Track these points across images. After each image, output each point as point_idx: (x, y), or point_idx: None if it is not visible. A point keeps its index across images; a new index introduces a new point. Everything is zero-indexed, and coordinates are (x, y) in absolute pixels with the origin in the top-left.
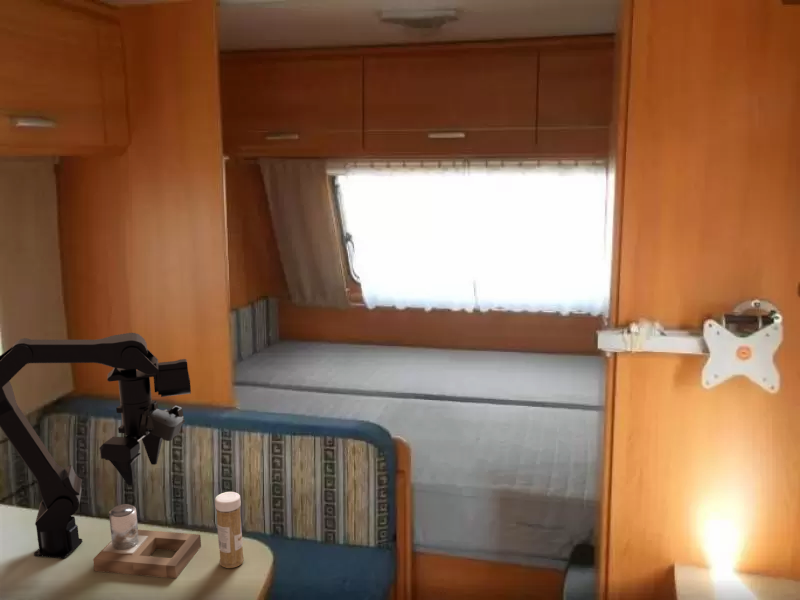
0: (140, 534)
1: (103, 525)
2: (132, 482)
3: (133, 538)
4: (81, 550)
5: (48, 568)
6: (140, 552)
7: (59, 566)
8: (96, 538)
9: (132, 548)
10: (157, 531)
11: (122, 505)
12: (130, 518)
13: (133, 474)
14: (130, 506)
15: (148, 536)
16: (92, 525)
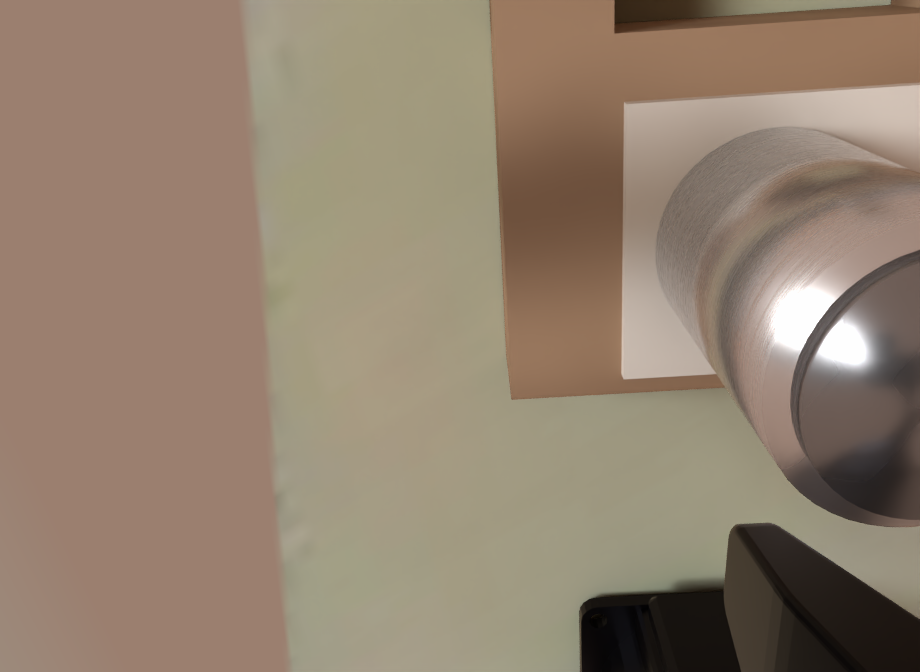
0: (584, 204)
1: (354, 589)
2: (811, 552)
3: (862, 149)
4: (684, 548)
5: (907, 609)
6: (897, 25)
7: (883, 565)
8: (523, 542)
9: (856, 131)
10: (502, 73)
11: (839, 449)
12: None
13: (898, 656)
14: (865, 335)
15: (604, 111)
16: (373, 649)
